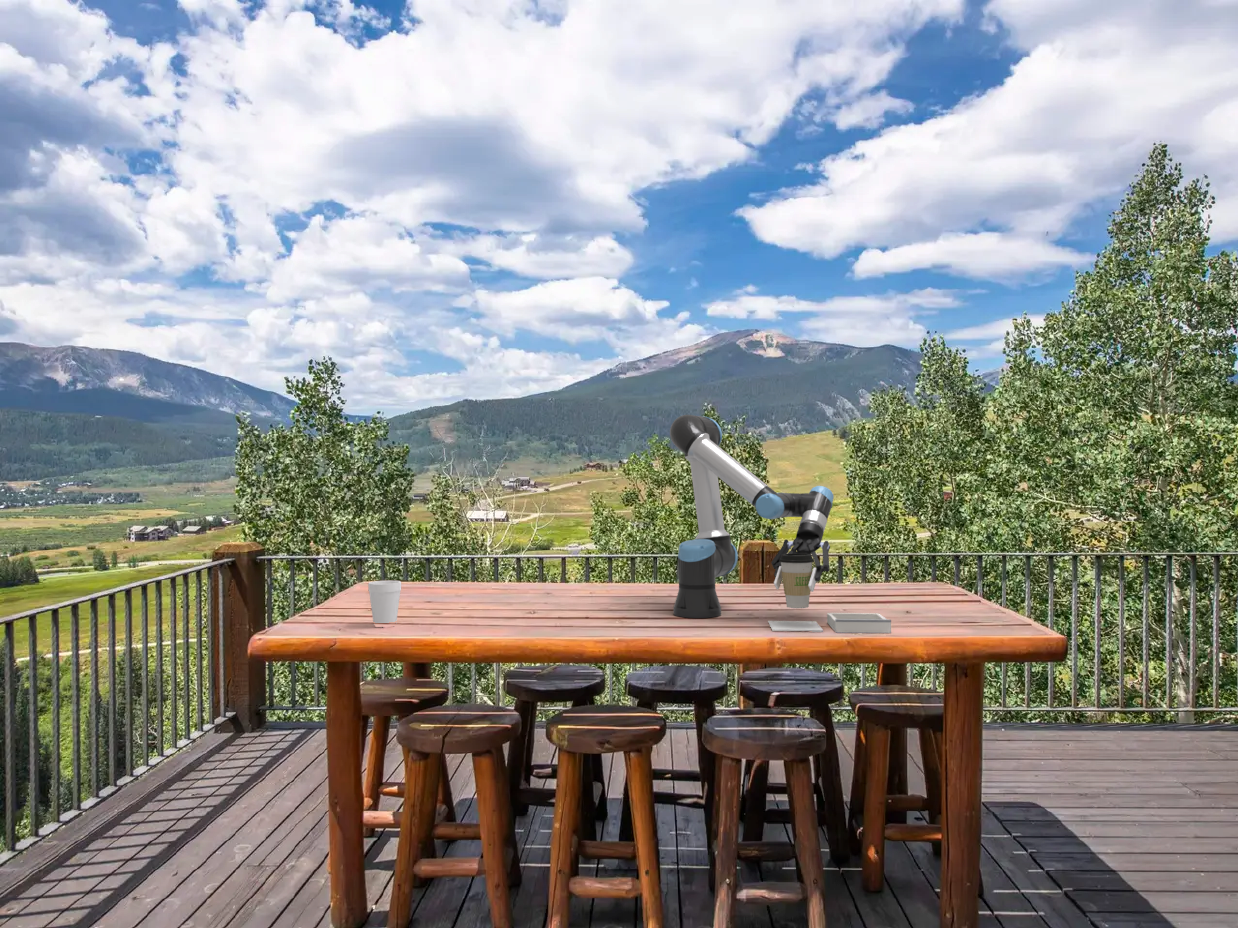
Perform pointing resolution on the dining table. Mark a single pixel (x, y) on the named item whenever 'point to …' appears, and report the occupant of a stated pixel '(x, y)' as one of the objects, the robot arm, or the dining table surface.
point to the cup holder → (858, 623)
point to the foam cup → (384, 600)
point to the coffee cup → (796, 578)
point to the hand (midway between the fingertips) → (793, 587)
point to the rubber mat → (795, 626)
